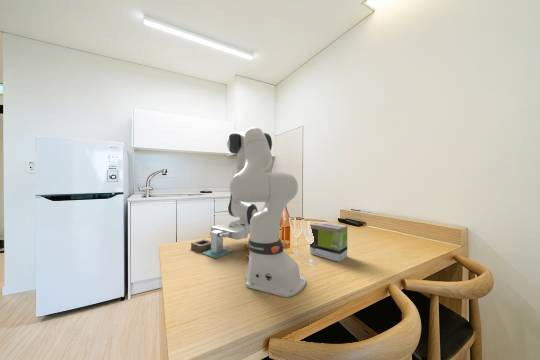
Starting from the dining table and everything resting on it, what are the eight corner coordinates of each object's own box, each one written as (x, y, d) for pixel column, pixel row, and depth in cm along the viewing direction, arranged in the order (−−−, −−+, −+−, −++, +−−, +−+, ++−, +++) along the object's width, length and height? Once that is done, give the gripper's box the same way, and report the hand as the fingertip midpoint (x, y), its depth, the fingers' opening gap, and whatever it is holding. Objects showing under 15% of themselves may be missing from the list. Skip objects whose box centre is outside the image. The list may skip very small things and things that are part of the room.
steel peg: (222, 251, 99) (222, 231, 99) (216, 254, 96) (216, 233, 96) (217, 249, 102) (217, 230, 102) (211, 252, 98) (211, 231, 98)
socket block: (214, 247, 106) (214, 242, 106) (200, 252, 100) (200, 246, 100) (204, 244, 111) (204, 239, 111) (191, 248, 104) (191, 243, 104)
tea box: (347, 256, 96) (348, 225, 96) (339, 262, 89) (339, 229, 88) (319, 248, 106) (319, 220, 106) (309, 254, 99) (309, 223, 98)
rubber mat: (231, 252, 100) (231, 251, 100) (215, 258, 92) (215, 257, 92) (218, 247, 106) (218, 247, 106) (201, 253, 98) (201, 252, 98)
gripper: (222, 220, 115) (202, 225, 104) (249, 226, 104) (229, 231, 92) (222, 231, 115) (202, 237, 104) (249, 238, 104) (229, 245, 92)
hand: (215, 235), depth 98 cm, fingers open, 5 cm apart
